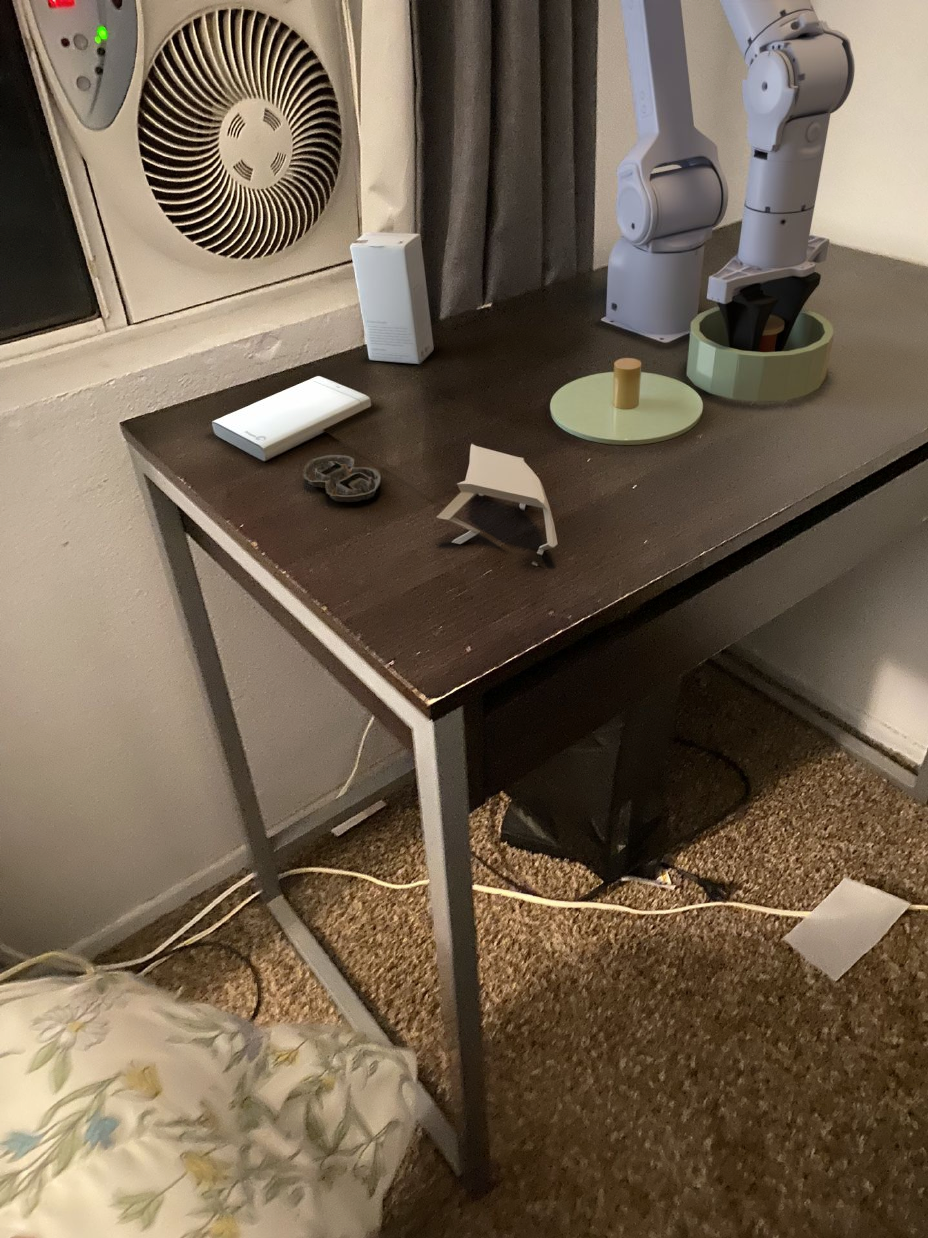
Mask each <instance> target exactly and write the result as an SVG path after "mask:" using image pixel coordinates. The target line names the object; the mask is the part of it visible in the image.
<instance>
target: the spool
mask: <svg viewBox="0 0 928 1238" xmlns="http://www.w3.org/2000/svg"><path fill="white" fill-rule="evenodd" d="M784 325H785V322H784V320H783V319H781V318H780V317H777V316H774V315H770V316H769V318H768V321H767V323H766V325H765V328H764V331H763V334H762V338H761V343H760V347H759V351H758V352H774V351H775V344H776V338H777V333H779V332H781V331H782V330H783V329H784Z"/></svg>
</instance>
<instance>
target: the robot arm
mask: <svg viewBox="0 0 928 1238" xmlns="http://www.w3.org/2000/svg"><path fill="white" fill-rule="evenodd" d="M619 1H620V7H621V16H622V21H623V22H622V24H623V31H624V40H625V45H626V46H625V47H626V55H627V63H628V64H627V65H628V71H629V78H630V79H629V80H630V86H631V94H632V102H633V109H634V119H635V126H636V134H637V141H636V142H635V143H634V144H633V146H632V147H631V148H630V150H629V152H628V153H627V154H626V155H625V156H624V158H623V159H622V160H621V162H620V163H619V164H618V166H617V167H616V170H615V171H616V178H617V192H616V193H617V194H616V201H615V217H616V222H617V226H618V228H619V231H620V232H621V234H622V236H621V237H619V238H618V239H617V241H616V242H615V243H614V245H613V247H612V249H611V253H610V254H609V257H608V262H607V281H606V305H605V307H606V308H605V316H604V317H602V318H601V319H600V321H602V322H604V323H607V324H609V325H613V326H615V327H619V328H621V329H624V330H627V331H630V332H633V333H634V334H635V333H636V334H638V335H641V336H643V337H646V338H650V339H653V340H655V341H658V342H662V343H670V342H672V341H674V340H677V339H680V338H681V337H684V336H686V335H688V334H690V325H691V322H692V321H693V320H694V319H695V318H696V317H697V315H698V314H699V304H700V296H701V295H700V294H701V288H702V287H701V286H702V285H701V284H702V275H703V267H704V266H703V265H704V257H705V246H706V245H705V244H706V241H709V240H712V239H713V229H715V228H716V227H718V225H720V224H721V222H722V221H723V219H724V218H725V215H726V213H727V210H728V209H727V208H728V205H729V187H728V182H727V179H726V176H725V174H724V172H723V169H722V167H721V164H720V160H719V153H718V146H717V144H716V143H715V142H714V141H713V140H711V139H710V138H709V137H708V136H707V135H705V134H704V133H703V132H701V131H700V130H699V129H698V128H696V126H695V122H694V112H693V103H692V102H693V101H692V94H691V84H690V75H689V67H688V66H689V65H688V57H687V55H688V54H687V48H686V47H687V45H686V37H685V27H684V20H683V19H684V18H683V10H682V9H683V8H682V1H681V0H619ZM719 3H720V5H721V7H722V10H723V13H724V15H725V17H726V19H727V22H728V24H729V26H730V28H731V31H732V34H733V36H734V38H735V40H736V43H737V46H738V48H739V51H740V53H741V55H742V57H743V60H744V62H745V65H746V67H747V69H748V72H747V75H746V78H744V79H742V85H741V92H742V93H741V94H742V103H743V107H744V110H745V113H746V118H747V129H746V139H747V140H748V141H747V143H748V146H749V147H751V149H750V156H749V163H748V164H749V165H748V174H747V179H746V180H747V181H746V188H745V194H744V195H745V197H744V204H743V212H742V219H741V229H740V235H739V243H738V251H737V253H736V254H735V255H734V256H733V257H732V258H731V259H730V260H729V261H728V262H727V263H726V264H725V265H724V266H723V267H722V268H721V269H720V270H718V272H716V273H714V274H712V275H710V276H708V282H707V283H708V284H707V291H706V299H707V300H710V301H713V302H716V304H717V307H718V306H719V308H720V311H721V313H722V316H723V319H724V322H725V325H726V329H727V335H728V341H729V348H733V349H738V350H742V351H753V352H758V351H759V347H760V343H761V338H762V334H763V331H764V328H765V325H766V323H767V321H768V318H769V316H770V315H774V316H777V317H780V318H781V319H783V320H784V322H785V325H784V329H783V330H782V331H781V332H779V333H777V338H776V344H775V351H774V352H781V351H782V350H783V348H784V346H785V344H786V342H787V340H788V337H789V335H790V333H791V330H792V328H793V326H794V323H795V321H796V319H797V317H798V315H799V313H800V311H801V309H802V308H804V306H805V305H806V303H807V302H808V300H809V298H811V295H812V294H813V293H814V292H815V290H816V289H817V288H818V287H819V286H820V283H821V278H822V274H821V273H819V272H816V265H817V264H820V263H822V262H823V263H824V262H825V261H826V260H827V257H828V251H829V244H830V238H827V237H822V236H818V235H814V234H811V228H812V223H813V217H814V211H815V206H816V200H817V195H818V190H819V185H820V184H819V183H820V177H821V172H822V166H823V159H824V156H825V155H824V154H825V148H826V144H827V139H828V138H827V137H828V131H829V125H830V119H831V114H833V113H835V112H837V111H838V110H839V109H840V108H841V107H842V106H843V105H844V104H845V102H846V100H847V99H848V97H849V96H850V93H851V90H852V88H853V84H854V79H855V68H856V67H855V65H856V64H855V58H854V53H853V51H852V45H851V40H850V39H849V37H848V36H847V35H846V34H844V33H843V32H842V31H840V30H837V29H832V28H830V26H829V25H828V24H827V21H824V20H819V18H818V16H817V13H816V11H815V8H814V6H813V4H812V1H811V0H719ZM668 166H678V167H677V168H673V169H672V168H671V169H667V170H662V171H657V172H653V170H655V169H659V168H663V167H668ZM652 172H653V173H652Z"/></svg>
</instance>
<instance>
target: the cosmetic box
mask: <svg viewBox="0 0 928 1238" xmlns="http://www.w3.org/2000/svg"><path fill="white" fill-rule="evenodd" d="M421 237H422V236H421V234H420V233H408V232H407V233H405V232H380V231H379V232H377V231H376V232H375V231H366V232H365V233H363V234H362V235H361V236H359V237H358V238H357V239H356V240H354V241H353V242H352V243H351V244H350V246H349V249H350V254H351V260H352V266H353V272H354V277H355V283H356V288H357V295H358V300H359V306H360V313H361V319H362V325H363V329H364V336H365V343H366V348H367V349H366V350H367V354H368V359H369V360H370V361H376V362H388V363H389V362H390V363H399V364H400V363H401V364H412V365H421V364H422V363H423V362H424V361H425V360H426V359H427V358H428V357H429V356H430V355H431V354H432V353H433V351H434V348H435V347H434V339H433V333H432V332H433V330H432V322H431V321H432V320H431V314H430V306H429V296H428V287H427V281H426V271H425V262H424V255H423V246H422V245H423V244H422V238H421Z"/></svg>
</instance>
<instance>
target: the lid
mask: <svg viewBox="0 0 928 1238" xmlns="http://www.w3.org/2000/svg"><path fill="white" fill-rule="evenodd" d="M642 365H643V364H642V361H641V360H640V359H638V358H633V357H622V358H619V359H616V360H615V361H614V362H613V371H607V372H600V373H595V374H590V375H587V376H583V377H580V378H577V379H575V380H572V381H570V382H568V383H566V384H564V385H563V386H562V387H560V388H559V389H558V390H557V391H556V392H555V393H554V394H553V395H552V397H551V399H550V403H549V413H550V416H551V419H552V420H553V421H554V423H555V424H556V425H557V427H559V428H560V429H562V430H563V431H565V432H566V433H568V434H570V435H572V436H574V437H577V438H579V439H582V440H586V441H590V442H595V443H598V444H606V445H615V446H638V445H639V446H640V445H649V444H656V443H661V442H664V441H668V440H671V439H674V438H677V437H679V436H681V435H684V434H686V433H687V432H689V431H690V430H692V429H693V428H695V426H697V424H698V423H699V422H700V421H701V418H702V416H703V411H704V402H703V400H702V397H701V396H700V395H699V393H698V392H697V391H696V390H695V389H694V388H692V387H691V386H689V385H687V384H686V383H684V382H682V381H680V380H678V379H675V378H673V377H670V376H665V375H662V374H658V373H652V372H644V371H642Z"/></svg>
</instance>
